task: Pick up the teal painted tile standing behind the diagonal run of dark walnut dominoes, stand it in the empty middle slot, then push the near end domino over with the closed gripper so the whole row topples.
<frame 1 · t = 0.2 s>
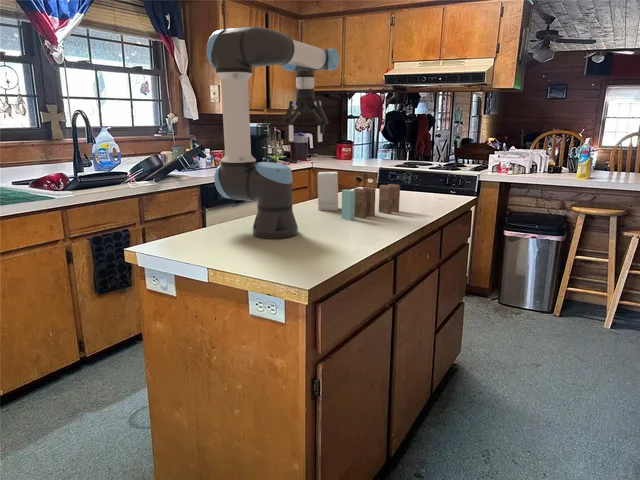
hand: (305, 141, 202), 28 cm above the table, fingers open, 13 cm apart
skincare box: (327, 209, 202), on the table
domino 5: (392, 211, 198), on the table
domino 4: (384, 212, 195), on the table
domino 2: (368, 215, 190), on the table
teal tile: (347, 218, 184), on the table
domino 1: (359, 216, 187), on the table
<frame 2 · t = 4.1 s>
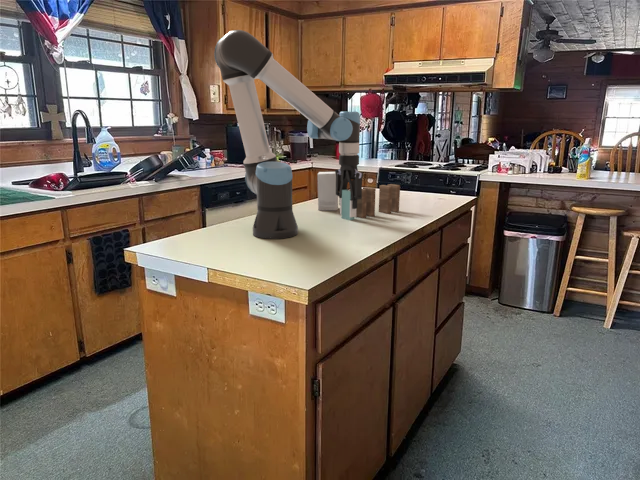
hand: (348, 215, 183), 1 cm above the table, fingers closed on teal tile, 5 cm apart
teal tile: (347, 218, 184), on the table, touching gripper
everything else where it was.
when the fingers open (2 cm above the table, at t = 9.2 s): teal tile stays where it is, on the table.
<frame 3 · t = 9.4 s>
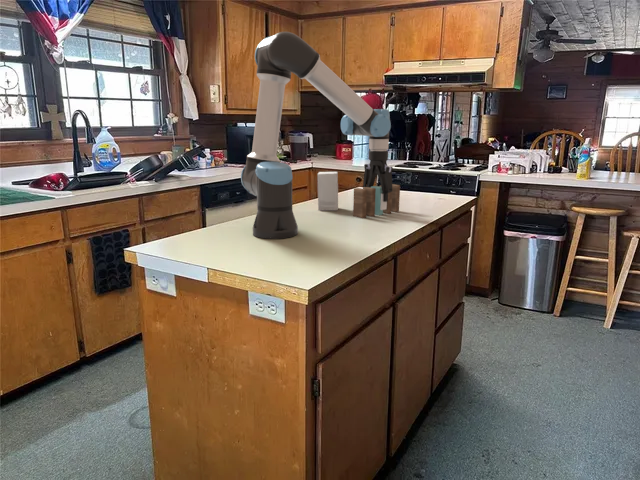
hand: (376, 207, 192), 2 cm above the table, fingers open, 7 cm apart
teal tile: (376, 213, 193), on the table
everything else where it was.
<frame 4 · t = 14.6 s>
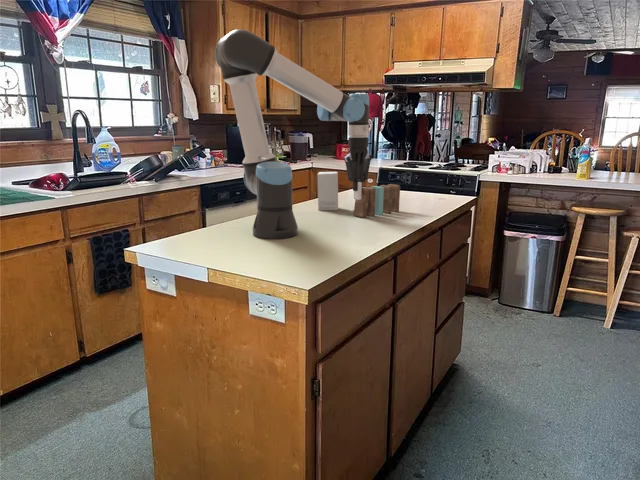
hand: (357, 199, 184), 7 cm above the table, fingers closed
domino 1: (359, 216, 187), on the table, tilted 8°, touching gripper
everything else where it was.
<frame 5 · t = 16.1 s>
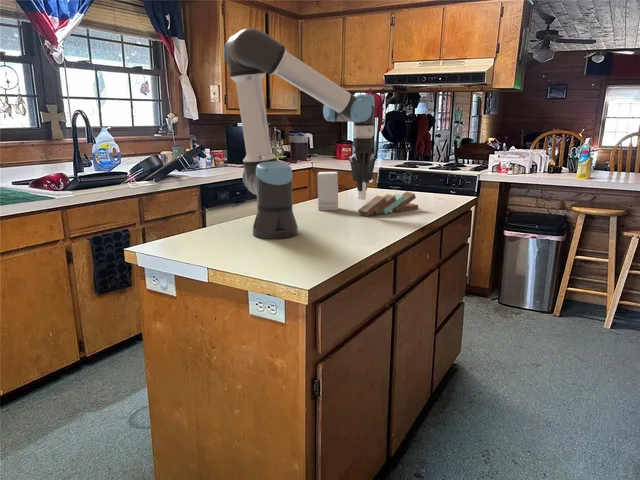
hand: (361, 199, 186), 7 cm above the table, fingers closed
domino 5: (395, 209, 199), point 1 cm above the table, tilted 90°
domino 4: (391, 208, 196), point 1 cm above the table, tilted 63°, touching teal tile
domino 2: (372, 211, 191), point 1 cm above the table, tilted 63°, touching domino 1, teal tile
teal tile: (380, 210, 193), point 1 cm above the table, tilted 63°, touching domino 2, domino 4
domino 1: (362, 213, 188), point 1 cm above the table, tilted 63°, touching domino 2
everything else where it was.
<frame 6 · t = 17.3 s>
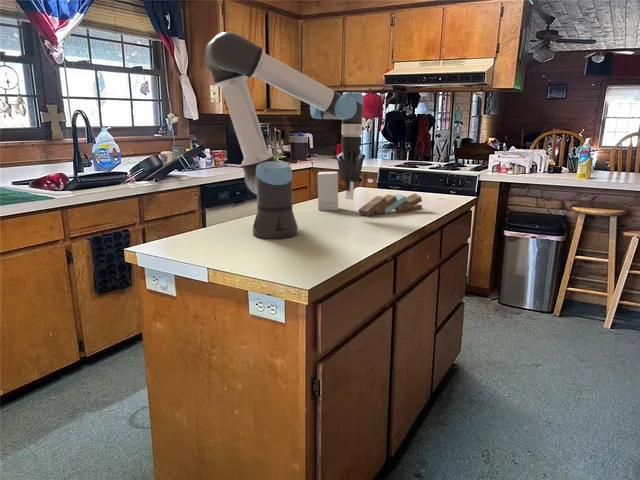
hand: (349, 198, 182), 8 cm above the table, fingers closed
domino 5: (399, 209, 199), on the table, tilted 90°
domino 4: (395, 208, 196), point 1 cm above the table, tilted 67°
teal tile: (381, 210, 194), point 1 cm above the table, tilted 65°, touching domino 2
domino 1: (363, 213, 189), point 1 cm above the table, tilted 65°, touching domino 2
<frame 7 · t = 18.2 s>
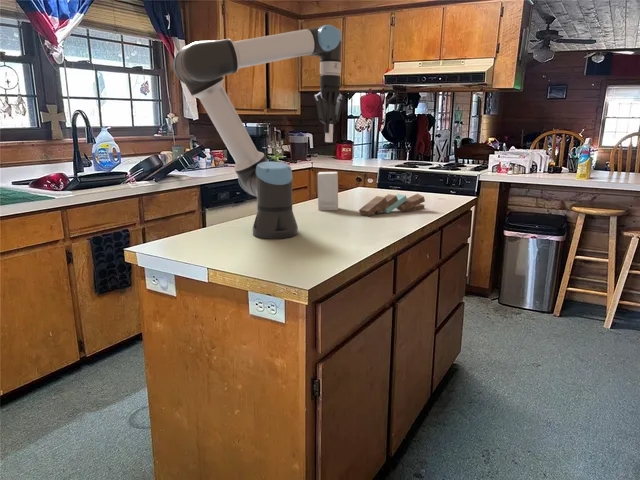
hand: (328, 142, 177), 29 cm above the table, fingers closed
domino 5: (401, 209, 199), on the table, tilted 90°, touching domino 4
domino 4: (398, 207, 197), point 2 cm above the table, tilted 70°, touching domino 5, teal tile
teal tile: (383, 210, 195), point 1 cm above the table, tilted 65°, touching domino 2, domino 4
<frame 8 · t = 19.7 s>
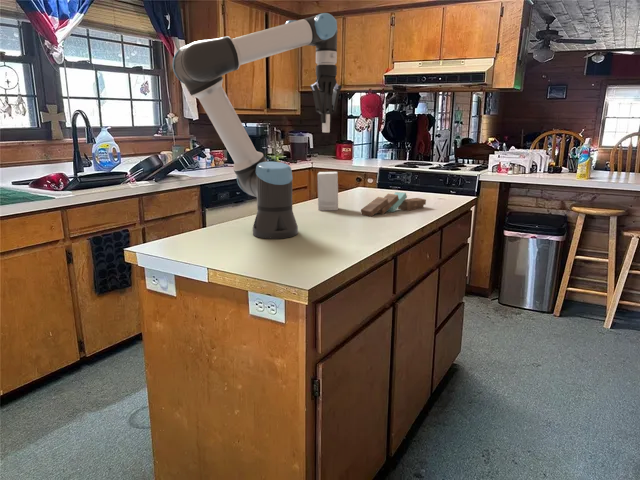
hand: (325, 132, 177), 32 cm above the table, fingers closed
domino 5: (402, 208, 201), on the table, tilted 90°, touching domino 4
domino 4: (402, 203, 200), point 3 cm above the table, tilted 90°, touching domino 5, teal tile
domino 2: (377, 211, 193), point 1 cm above the table, tilted 64°, touching domino 1, teal tile
teal tile: (388, 209, 196), point 1 cm above the table, tilted 64°, touching domino 2, domino 4
at the end: teal tile inside the target area (6.5 cm from its centre), point 1.1 cm above the table; teal tile tilted 64°; domino 5 tilted 90° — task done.
